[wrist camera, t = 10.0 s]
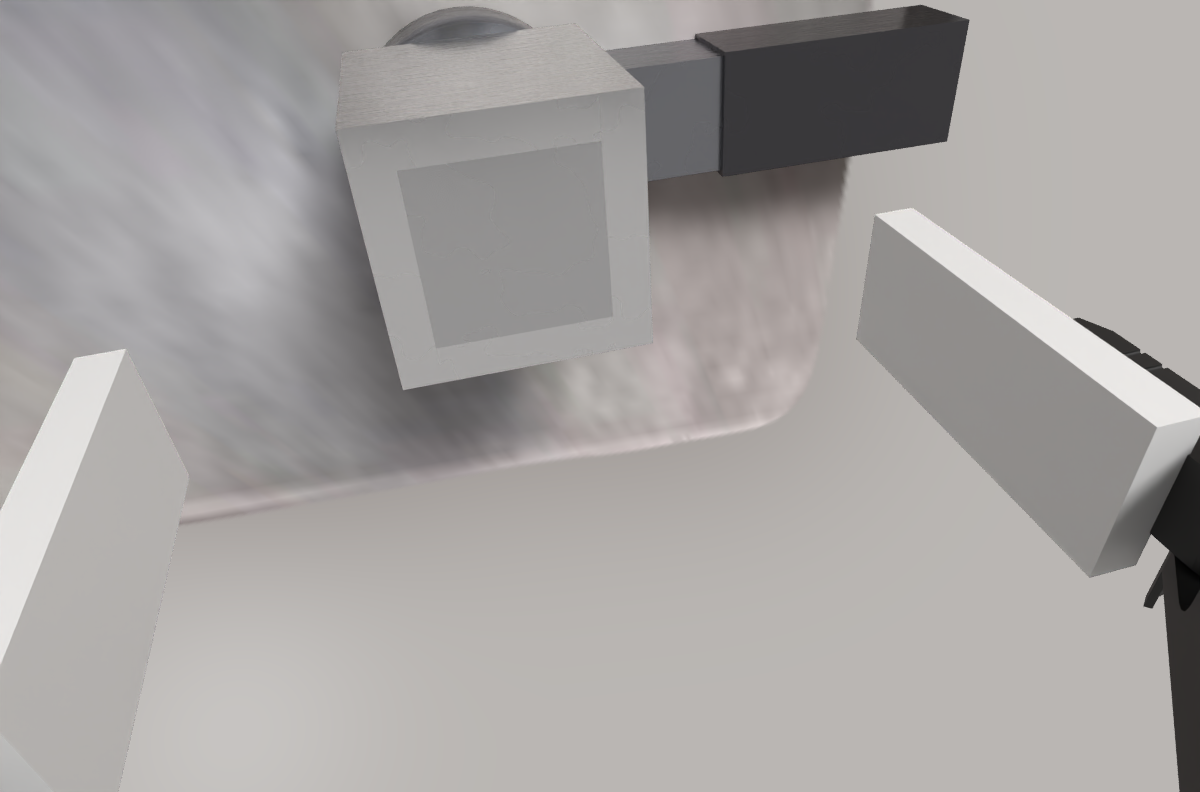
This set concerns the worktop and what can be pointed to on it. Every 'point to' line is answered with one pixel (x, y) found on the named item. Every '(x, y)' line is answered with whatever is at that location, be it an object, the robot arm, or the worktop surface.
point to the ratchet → (775, 86)
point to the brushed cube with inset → (499, 199)
